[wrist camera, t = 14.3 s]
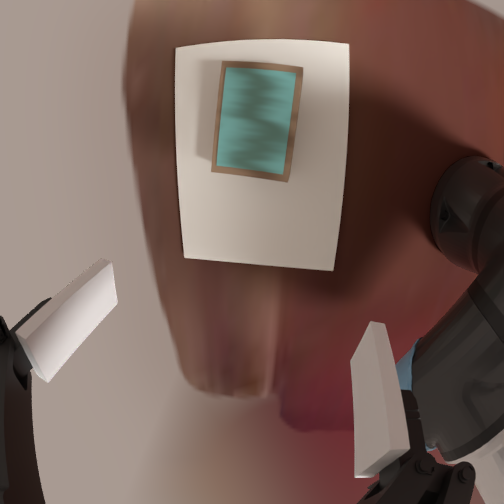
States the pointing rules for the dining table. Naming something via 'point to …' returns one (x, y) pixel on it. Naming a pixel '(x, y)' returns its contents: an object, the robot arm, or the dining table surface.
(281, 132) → the walnut plaque
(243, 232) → the cream white flat board
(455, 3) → the dining table surface
